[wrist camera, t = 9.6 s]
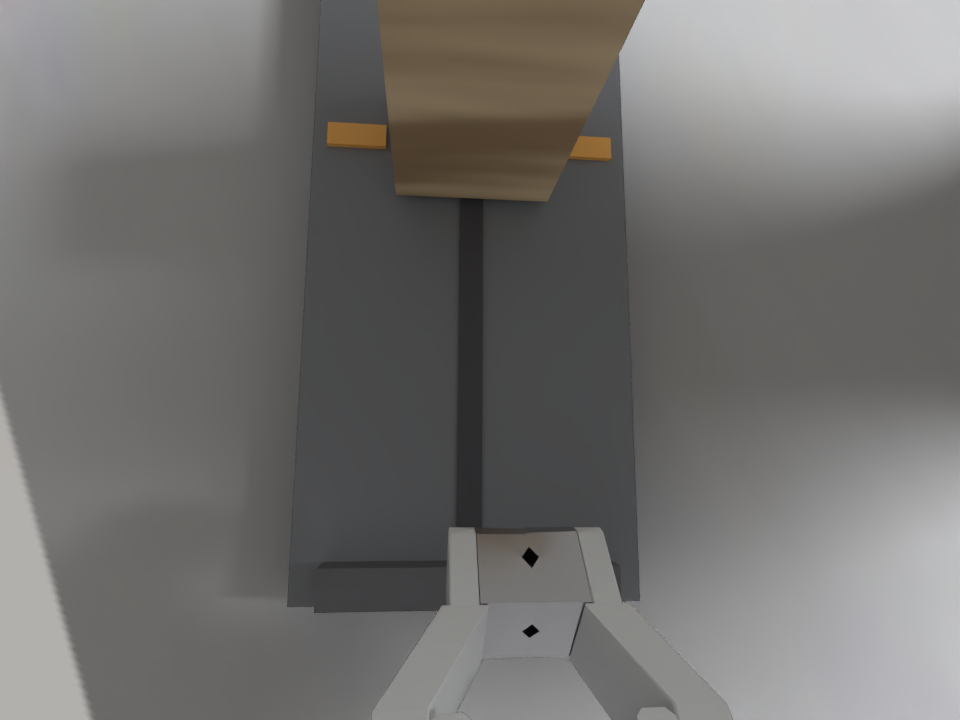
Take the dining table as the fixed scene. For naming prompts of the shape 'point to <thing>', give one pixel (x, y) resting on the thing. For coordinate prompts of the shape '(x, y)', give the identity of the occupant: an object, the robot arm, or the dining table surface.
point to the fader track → (452, 353)
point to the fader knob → (493, 90)
